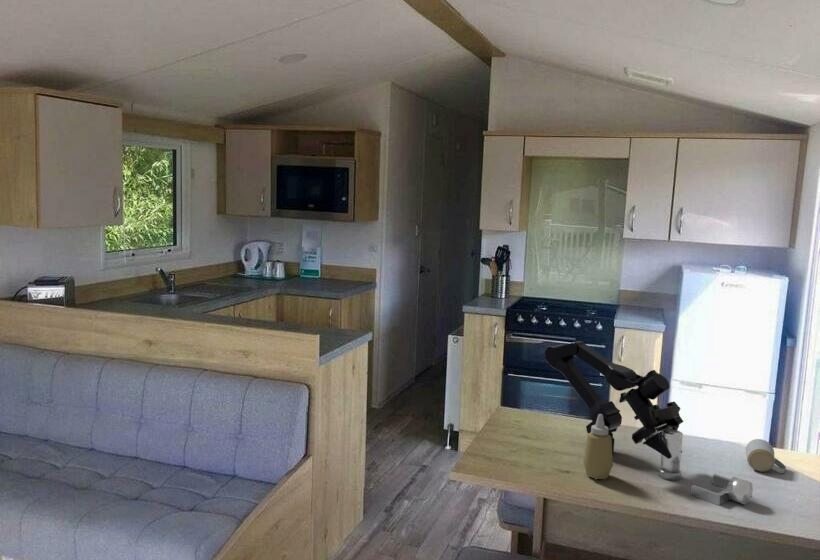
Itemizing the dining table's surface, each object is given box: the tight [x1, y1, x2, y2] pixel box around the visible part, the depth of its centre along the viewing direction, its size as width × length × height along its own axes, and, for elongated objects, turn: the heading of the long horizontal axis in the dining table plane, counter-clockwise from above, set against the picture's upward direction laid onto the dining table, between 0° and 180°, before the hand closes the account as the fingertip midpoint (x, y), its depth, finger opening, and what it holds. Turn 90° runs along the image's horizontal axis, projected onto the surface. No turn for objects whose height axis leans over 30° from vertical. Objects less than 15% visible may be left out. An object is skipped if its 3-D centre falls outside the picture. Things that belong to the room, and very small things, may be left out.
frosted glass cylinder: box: [658, 429, 683, 482], centre depth 191 cm, size 6×6×13 cm
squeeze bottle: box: [582, 414, 614, 480], centre depth 190 cm, size 8×8×18 cm
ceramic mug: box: [745, 438, 787, 474], centre depth 199 cm, size 11×8×8 cm
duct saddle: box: [690, 473, 754, 506], centre depth 180 cm, size 12×13×6 cm
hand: (675, 455), depth 190 cm, fingers closed on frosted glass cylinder, 5 cm apart
